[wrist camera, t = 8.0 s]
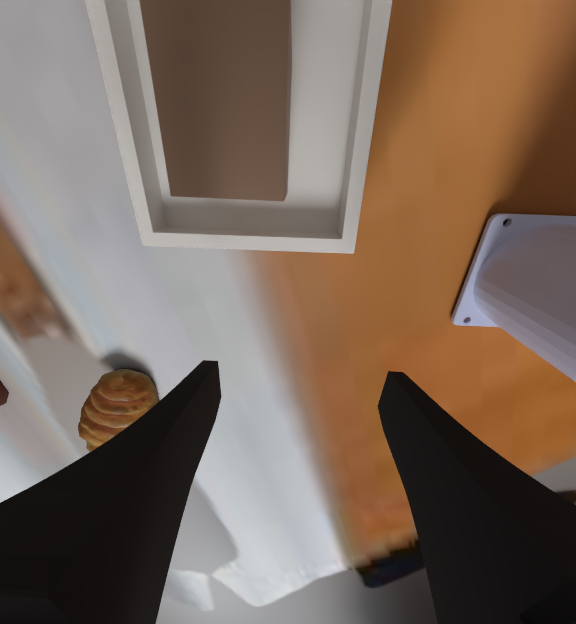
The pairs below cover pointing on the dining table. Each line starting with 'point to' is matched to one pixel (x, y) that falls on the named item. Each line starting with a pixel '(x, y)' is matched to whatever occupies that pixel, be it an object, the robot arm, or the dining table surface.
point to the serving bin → (302, 141)
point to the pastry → (115, 405)
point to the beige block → (222, 94)
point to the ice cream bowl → (3, 394)
